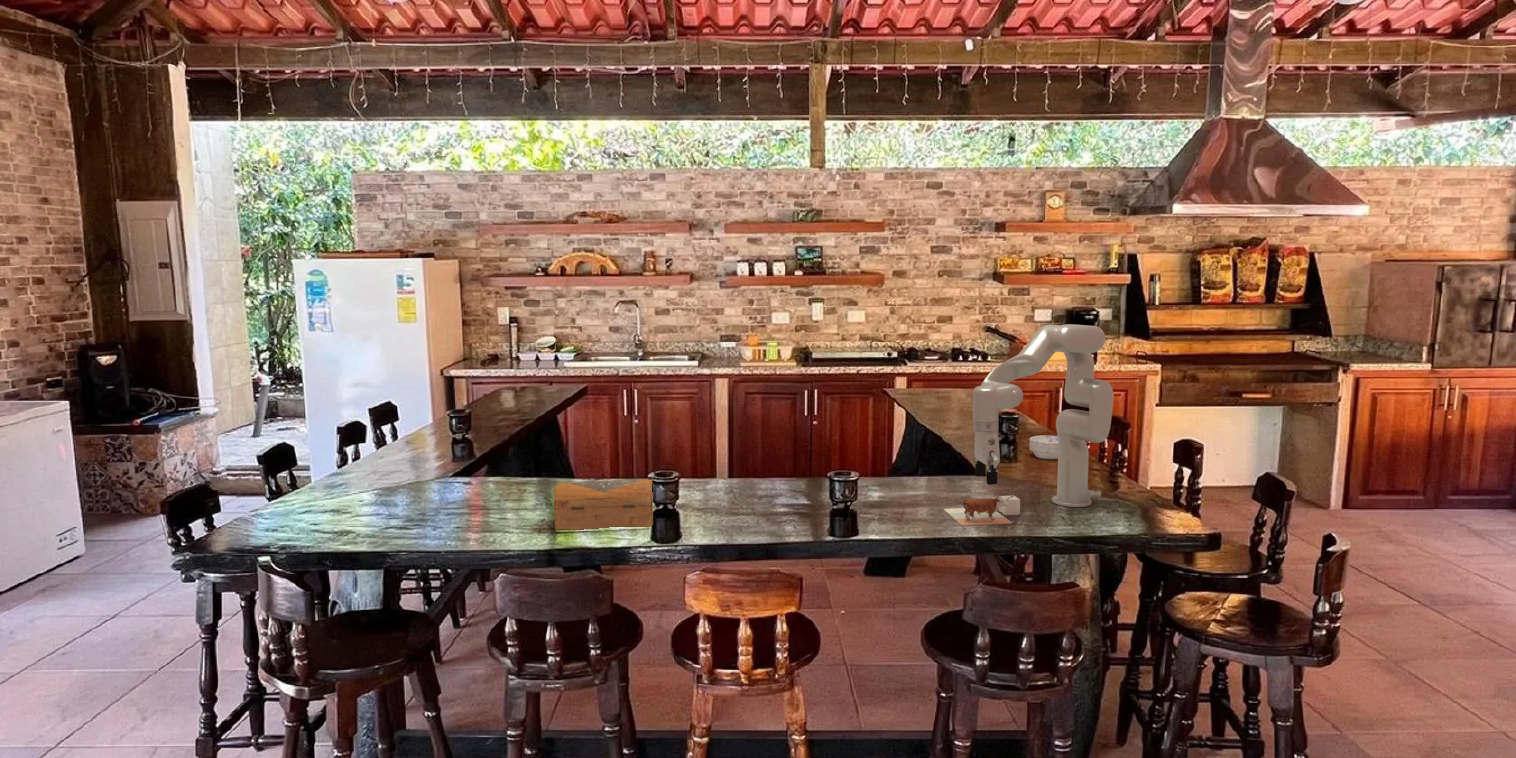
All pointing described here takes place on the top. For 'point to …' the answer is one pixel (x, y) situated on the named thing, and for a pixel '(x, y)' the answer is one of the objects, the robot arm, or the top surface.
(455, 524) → the top surface
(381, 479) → the top surface
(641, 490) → the wooden box
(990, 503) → the bull figurine
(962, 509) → the game board
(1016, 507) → the die
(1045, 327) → the robot arm
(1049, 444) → the paper bowls
